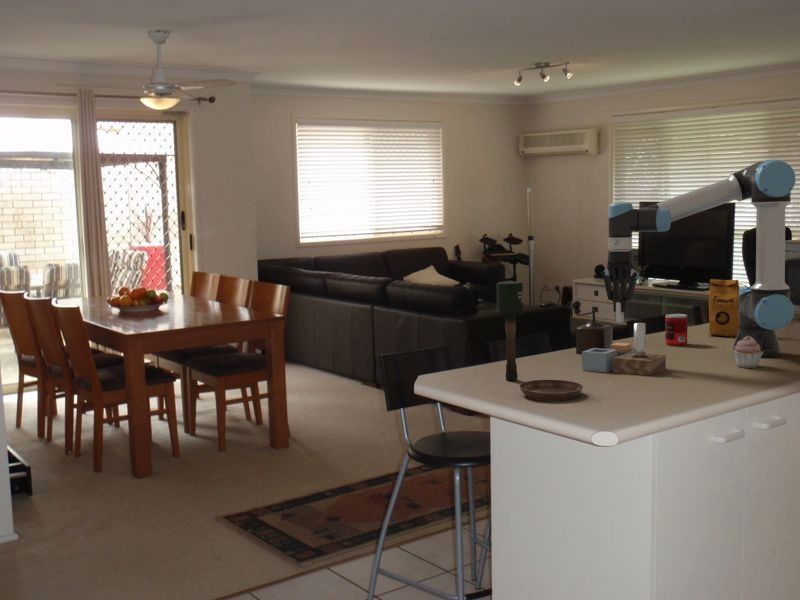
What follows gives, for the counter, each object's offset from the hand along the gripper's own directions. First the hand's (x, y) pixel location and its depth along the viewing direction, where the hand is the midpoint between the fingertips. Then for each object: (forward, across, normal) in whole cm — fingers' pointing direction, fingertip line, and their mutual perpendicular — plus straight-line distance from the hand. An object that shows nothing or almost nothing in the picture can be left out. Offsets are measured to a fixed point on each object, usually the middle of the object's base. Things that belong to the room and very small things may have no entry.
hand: (619, 321), depth 295 cm
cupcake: (+14, +37, +13) cm, 42 cm away
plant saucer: (+15, +5, -55) cm, 57 cm away
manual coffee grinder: (+14, -20, +16) cm, 29 cm away
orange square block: (+11, 0, 0) cm, 11 cm away
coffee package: (+13, +9, +74) cm, 76 cm away
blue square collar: (+14, -1, -13) cm, 19 cm away
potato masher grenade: (+14, -16, -42) cm, 47 cm away
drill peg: (+14, +11, -10) cm, 20 cm away
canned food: (+14, +1, +45) cm, 47 cm away
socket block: (+14, +11, -10) cm, 20 cm away
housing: (+14, 0, 0) cm, 14 cm away
